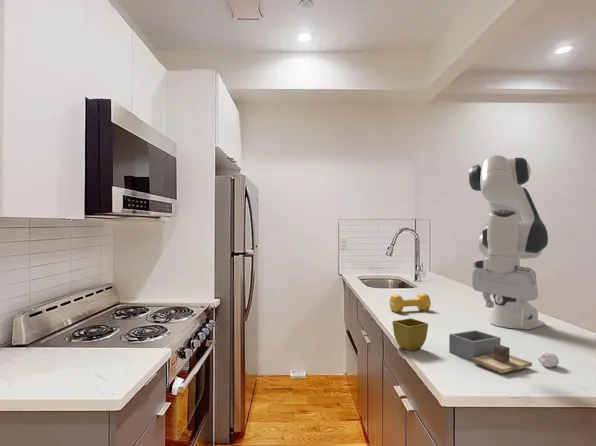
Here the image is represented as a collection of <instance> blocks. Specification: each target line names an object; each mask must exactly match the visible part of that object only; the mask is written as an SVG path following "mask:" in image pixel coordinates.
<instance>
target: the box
mask: <svg viewBox="0 0 596 446" xmlns="http://www.w3.org/2000/svg"><path fill="white" fill-rule="evenodd" d="M448 341H449V345H448V346H449V349H448V352H449V353H451V354H452V355H456V356H459V357H461V358H464V359H467V360H469V361H471V362H473V361H472V358H474V357H480V356H485V355H490V354H494V346H499V345H501V337H499V336H496V335H492V334H490V333H487V332H484V331H483V332H482V331H480V330H476V329H475V330H468V331H461V332H455V333H449V340H448Z"/></svg>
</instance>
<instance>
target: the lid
mask: <svg viewBox="0 0 596 446" xmlns="http://www.w3.org/2000/svg"><path fill="white" fill-rule="evenodd" d="M471 362H473V363H476V364H479V366H480V367H484V368H487V369H489V370H492V371H493V372H494V371H495V372H497V373H500V374H505V373H508V372H509V373H510V372H513V371H517V370H522V369H526V368H529V367H530V368H531V367H532V366H533V362H531V361H528V360H526V359H525V360H524V359H522V358H519V357H516V356H513V355H510V347H507V346H505V345H502V344H500V345H499V346H494V354H490V355H485V356H480V357H474V358H472V361H471Z"/></svg>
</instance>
